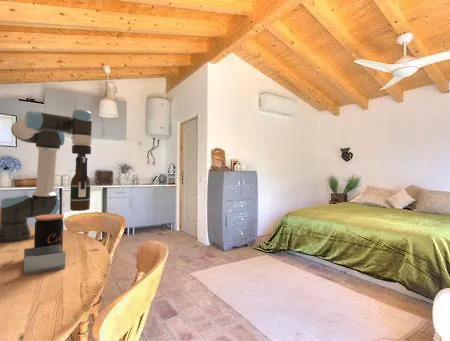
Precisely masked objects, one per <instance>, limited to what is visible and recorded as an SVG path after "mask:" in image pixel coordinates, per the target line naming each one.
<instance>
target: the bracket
mask: <svg viewBox="0 0 450 341" xmlns="http://www.w3.org/2000/svg"><path fill="white" fill-rule="evenodd" d="M65 268H66V250H62V244H58V245H50V246H42V247H35V248H34V247H28V248H24V250H23V276H28V275H35V274H39V273H40V274H41V273H46V272H51V271H57V270H62V269H65Z"/></svg>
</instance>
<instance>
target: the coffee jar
mask: <svg viewBox="0 0 450 341" xmlns="http://www.w3.org/2000/svg"><path fill="white" fill-rule="evenodd" d="M63 218H64V214H58V213H56V214H47V215H40V216H36V217H34V219H35V222H34V238H33V239H34V243H33V244H34V245H33V248H35V247H42V246H50V245H58V244H62V251H64V250H63V244H64V243H63V242H64V219H63Z"/></svg>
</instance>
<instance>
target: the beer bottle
mask: <svg viewBox="0 0 450 341" xmlns="http://www.w3.org/2000/svg"><path fill="white" fill-rule="evenodd" d="M76 158H79V156H78V155H77V156H76ZM75 170H76V174H74V175H73V177H72V178H71V181H70V195H69V196H70V197H69V199H70V200H69V202H70V203H69V209H70V210H71V211H72V212H73V211H74V212H80V211H88V210H90V207H91V180H90V178H89V176H88V175H87V181H86V197H78V193H79V182H78V180H79V168H78V164H77V168H76V167H75Z"/></svg>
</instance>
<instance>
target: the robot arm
mask: <svg viewBox="0 0 450 341" xmlns="http://www.w3.org/2000/svg"><path fill="white" fill-rule="evenodd" d="M92 125H93V116H92V113H91V111H89V110H85V109H75V110H73V111H72V115H71V116H66V115H65V116H64V115H58V114H52V113H46V112H40V111H32V110H28V111H26V112H25V116H24V119H23V120H22V119H21V120H17V121H15V122H14V123H12V125H11V127H10V129H11V130H10V131H11V134H12V135H13V136H14V137H15V138H16V139H17V140H19V141H21V142H25V143H29V144H35V147H36V148H37V149H38V154H37V169H36V172H37V173H36V184H35V191H34V192H33V193H32V194H31V195H32V196H29V195H28V194H18V195H11V196H6V197H3V198H2V199H1V200H0V243H10V242H19V241H23V240H26V239H30V238H31V232H32V231H31V230H30V228H29V225H28V219H31V218H35V217H36V216H40V215H47V214H58V211H59V209H60V204H61V202H60V201H61V200H60V197H59V196H58V195H57V192H55V180H56V178H55V177H56V166H57V151H59V150H60V149H61V146H64V144H65V140H66V139H65V134H69V135H71V137H70V139H71V140H72V142H71V143H72V146H71V154H75V155H77V156H79V158H77V157H75V169H74V170H75V172H74V173H75V174H76V168H77V164H78V168H79V180H78V182H79V193H78V197H86V181H87V176H88V157H86V156H87V155H91V154H92V153H91V152H92V147H91V146H92V130H93V129H92ZM75 174H74V175H75Z"/></svg>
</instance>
